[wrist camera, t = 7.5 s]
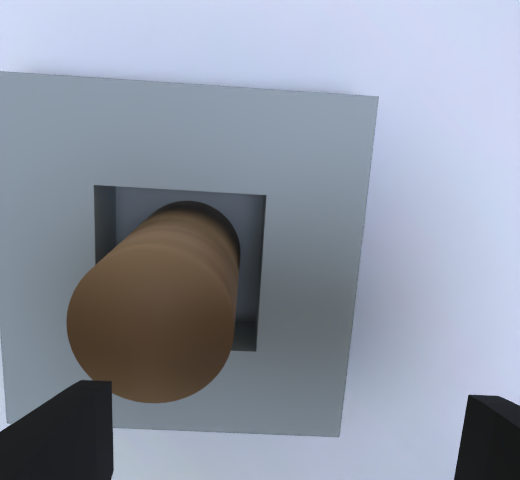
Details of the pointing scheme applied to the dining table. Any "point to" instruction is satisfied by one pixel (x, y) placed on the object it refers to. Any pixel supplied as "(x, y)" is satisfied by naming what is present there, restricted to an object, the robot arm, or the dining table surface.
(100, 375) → the peg
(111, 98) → the socket block
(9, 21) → the dining table surface
